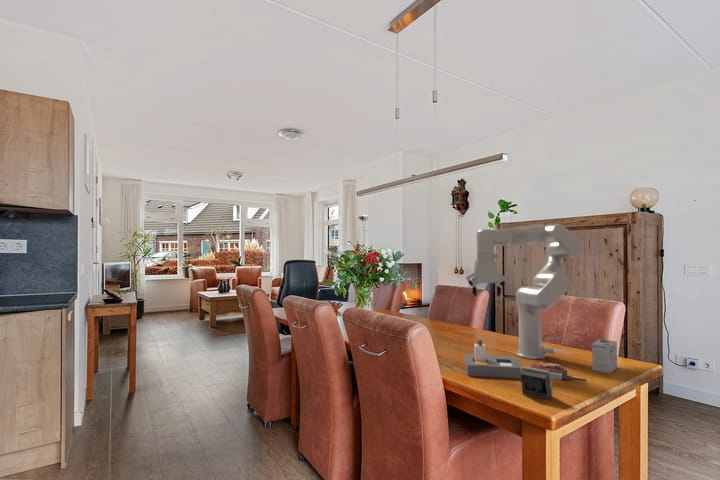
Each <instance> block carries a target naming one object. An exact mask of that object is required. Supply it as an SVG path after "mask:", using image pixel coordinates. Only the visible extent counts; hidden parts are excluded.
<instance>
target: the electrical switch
mask: <svg viewBox="0 0 720 480" xmlns="http://www.w3.org/2000/svg"><path fill="white" fill-rule="evenodd" d="M520 371H521V379H520V382H521V389H522V391H521V392H522V395H524V394H526V395H525V396H528V395H531V396H530V397H533V396H535V397H534V398H537V397H539V398H538V399H542V398H543V400H546V399H548V400H549V398H552V397H553V395H554V393H553V384H552V383H553V382H552V379H551V373H550V372H549V371H547V370H541V369H536V368H531V366H522V365H521V368H520Z"/></svg>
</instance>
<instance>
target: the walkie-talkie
mask: <svg viewBox="0 0 720 480" xmlns="http://www.w3.org/2000/svg"><path fill="white" fill-rule="evenodd" d="M530 368H536V369H541V370H547V371H549V372H550V373H551V380H552V379H553V380H556V381H557V380H559V381H563V380H569V381H576V382H578V381H580V382H588V380H587V379H586V378H579V377H573V376H568V370H567V369H566V368H565V367H562V365H561V364H558V363H550V362H548V363H546V364H543V362H540V363H532V364H531V365H530Z"/></svg>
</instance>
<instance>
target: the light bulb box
mask: <svg viewBox="0 0 720 480" xmlns="http://www.w3.org/2000/svg"><path fill="white" fill-rule="evenodd" d="M617 346H618V343H617V341H616V340H606V339H599V338H598V339H597V340H596V341H594V342H593V343H592V344H591V356H592V358H591V361H592V366H591V367H592V371H597V372H602V373H606V374H612V373H613V372H614V371H615V370H616V369H617V368H618V350H617V348H618V347H617Z"/></svg>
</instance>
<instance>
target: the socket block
mask: <svg viewBox="0 0 720 480" xmlns="http://www.w3.org/2000/svg"><path fill="white" fill-rule="evenodd" d="M464 365H465V369H466V374H467V376H469V377H486V378H487V377H488V378H503V379H517V380H518V379H520V380H521V371H520V368H521V367H522V365H521V364H520V362H519V361H518V360H517V358H516V356H513V355H512V356H511V355H494V354H493V355H491V354H486V362H478V361H475V353H474V354H473V353H472V354H471V353H465V354H464Z"/></svg>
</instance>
